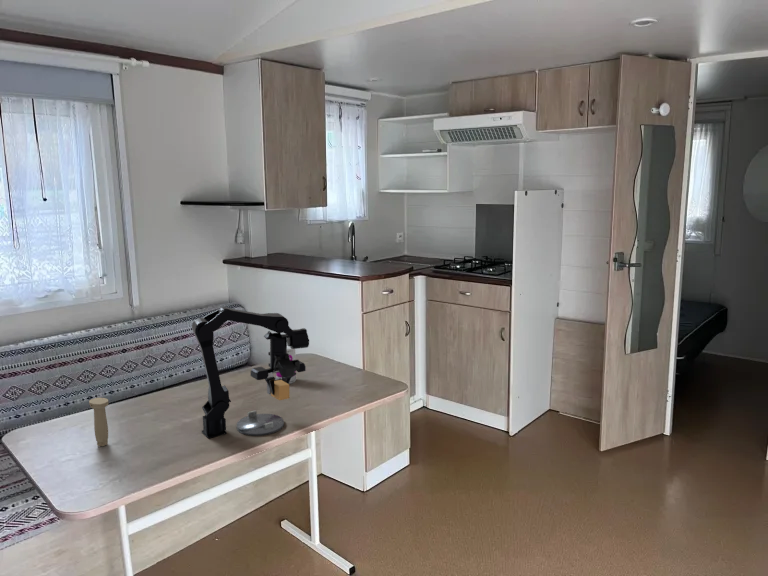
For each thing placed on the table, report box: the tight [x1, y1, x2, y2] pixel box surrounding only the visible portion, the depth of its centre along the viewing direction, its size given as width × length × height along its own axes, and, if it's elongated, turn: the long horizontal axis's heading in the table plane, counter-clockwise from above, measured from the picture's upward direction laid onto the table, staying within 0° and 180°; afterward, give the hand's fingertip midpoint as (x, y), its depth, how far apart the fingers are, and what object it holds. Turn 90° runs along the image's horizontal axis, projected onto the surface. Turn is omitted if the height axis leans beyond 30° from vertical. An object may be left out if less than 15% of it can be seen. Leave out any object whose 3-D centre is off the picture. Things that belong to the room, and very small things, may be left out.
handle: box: [88, 397, 110, 447], centre depth 189 cm, size 5×6×15 cm
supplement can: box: [275, 345, 297, 385], centre depth 248 cm, size 8×8×15 cm
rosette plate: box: [236, 409, 285, 437], centre depth 205 cm, size 16×16×3 cm
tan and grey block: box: [266, 377, 290, 401], centre depth 207 cm, size 4×9×5 cm, turn 38°
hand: (278, 393), depth 207 cm, fingers closed on tan and grey block, 4 cm apart
